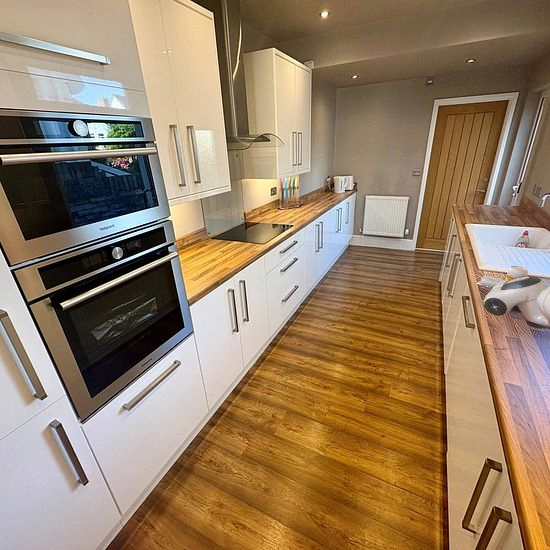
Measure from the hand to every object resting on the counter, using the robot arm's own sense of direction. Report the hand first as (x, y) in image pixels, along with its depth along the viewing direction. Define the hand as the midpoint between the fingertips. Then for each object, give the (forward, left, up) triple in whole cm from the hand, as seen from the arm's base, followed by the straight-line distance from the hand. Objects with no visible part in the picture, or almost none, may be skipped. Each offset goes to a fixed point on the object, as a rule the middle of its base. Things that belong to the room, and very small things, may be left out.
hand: (514, 282), depth 121 cm
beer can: (0, +1, -9) cm, 9 cm away
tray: (0, +1, -9) cm, 9 cm away
